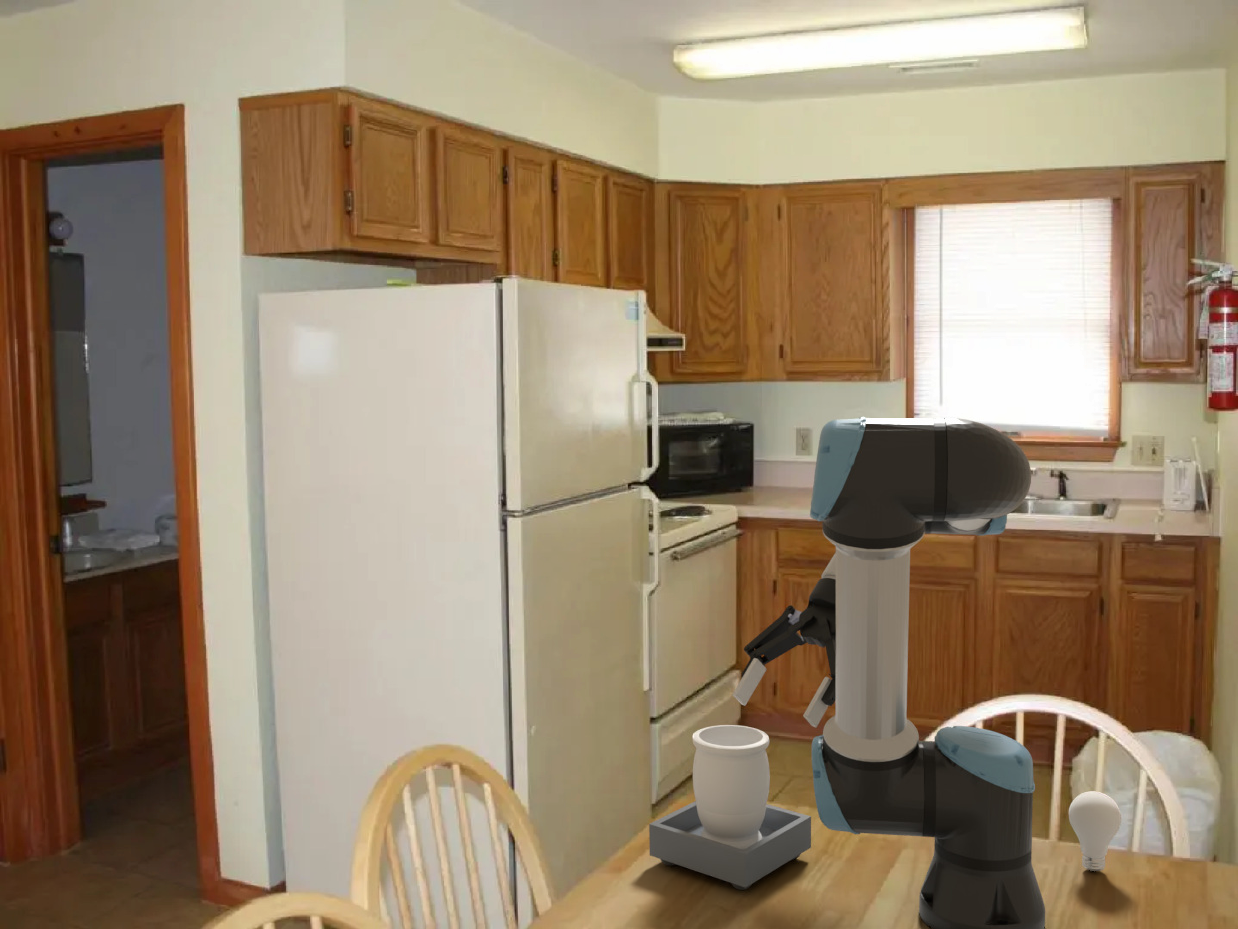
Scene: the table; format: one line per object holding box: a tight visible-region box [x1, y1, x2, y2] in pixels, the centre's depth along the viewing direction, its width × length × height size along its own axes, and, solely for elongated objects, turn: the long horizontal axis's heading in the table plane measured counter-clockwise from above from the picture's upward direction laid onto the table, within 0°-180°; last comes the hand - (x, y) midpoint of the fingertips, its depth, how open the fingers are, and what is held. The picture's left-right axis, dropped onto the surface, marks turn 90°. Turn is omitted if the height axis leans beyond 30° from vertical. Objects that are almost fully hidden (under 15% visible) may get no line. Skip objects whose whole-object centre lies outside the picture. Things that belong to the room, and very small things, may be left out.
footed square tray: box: [648, 800, 812, 891], centre depth 174 cm, size 16×16×6 cm
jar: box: [692, 724, 771, 850], centre depth 174 cm, size 11×10×15 cm
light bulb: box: [1068, 790, 1122, 873], centre depth 170 cm, size 7×7×11 cm
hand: (773, 711), depth 178 cm, fingers open, 13 cm apart
